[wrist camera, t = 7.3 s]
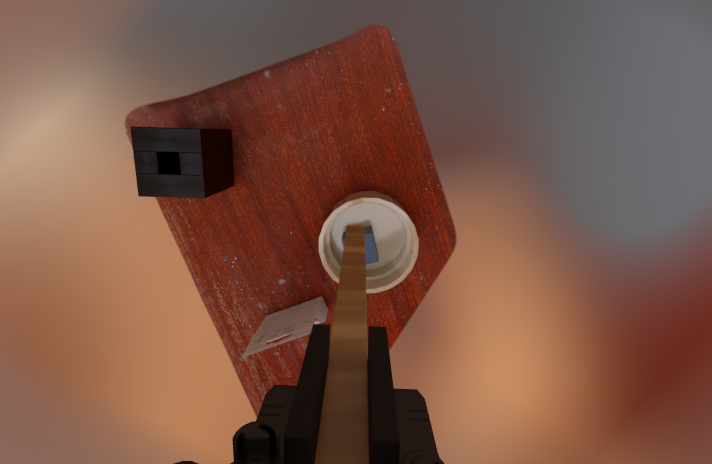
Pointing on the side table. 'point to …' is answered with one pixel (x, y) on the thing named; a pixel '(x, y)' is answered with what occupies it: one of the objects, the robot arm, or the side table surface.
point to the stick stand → (182, 161)
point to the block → (368, 246)
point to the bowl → (389, 233)
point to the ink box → (288, 324)
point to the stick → (347, 364)
